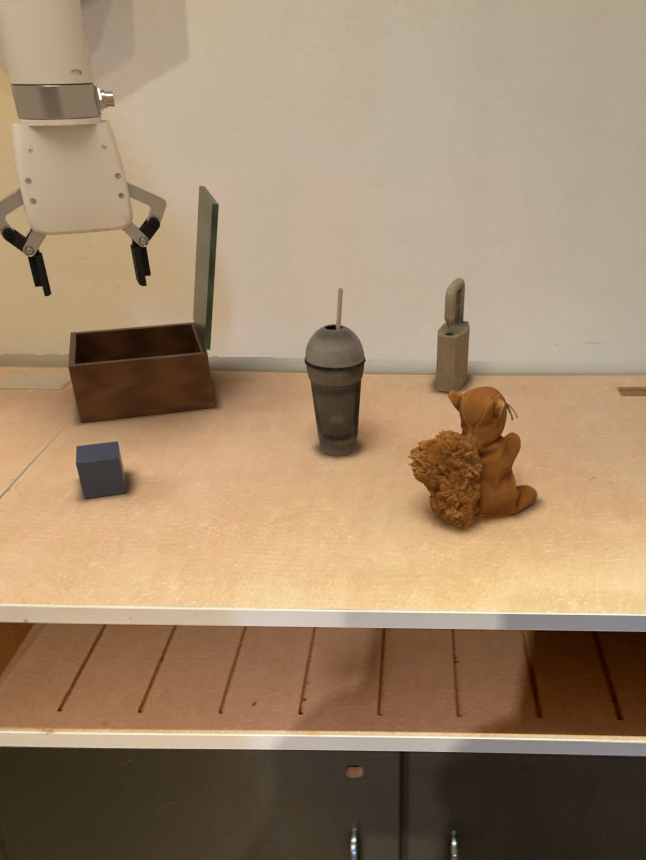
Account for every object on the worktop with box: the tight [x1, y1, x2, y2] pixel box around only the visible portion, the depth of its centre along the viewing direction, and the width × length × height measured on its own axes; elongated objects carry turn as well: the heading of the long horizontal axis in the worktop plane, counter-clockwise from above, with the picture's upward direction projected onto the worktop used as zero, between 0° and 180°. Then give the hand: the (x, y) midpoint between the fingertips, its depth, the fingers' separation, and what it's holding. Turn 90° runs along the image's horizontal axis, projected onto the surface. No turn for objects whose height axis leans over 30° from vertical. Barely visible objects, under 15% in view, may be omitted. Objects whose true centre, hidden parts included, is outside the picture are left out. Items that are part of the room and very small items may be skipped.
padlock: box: [435, 277, 471, 393], centre depth 115 cm, size 4×8×15 cm, turn 163°
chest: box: [67, 321, 215, 423], centre depth 112 cm, size 18×15×8 cm
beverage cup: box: [303, 288, 367, 457], centre depth 94 cm, size 7×7×20 cm
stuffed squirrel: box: [406, 385, 538, 528], centre depth 84 cm, size 10×14×13 cm
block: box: [75, 440, 127, 500], centre depth 89 cm, size 4×4×4 cm
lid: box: [192, 185, 220, 351], centre depth 107 cm, size 18×15×1 cm
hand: (95, 288), depth 85 cm, fingers open, 9 cm apart
